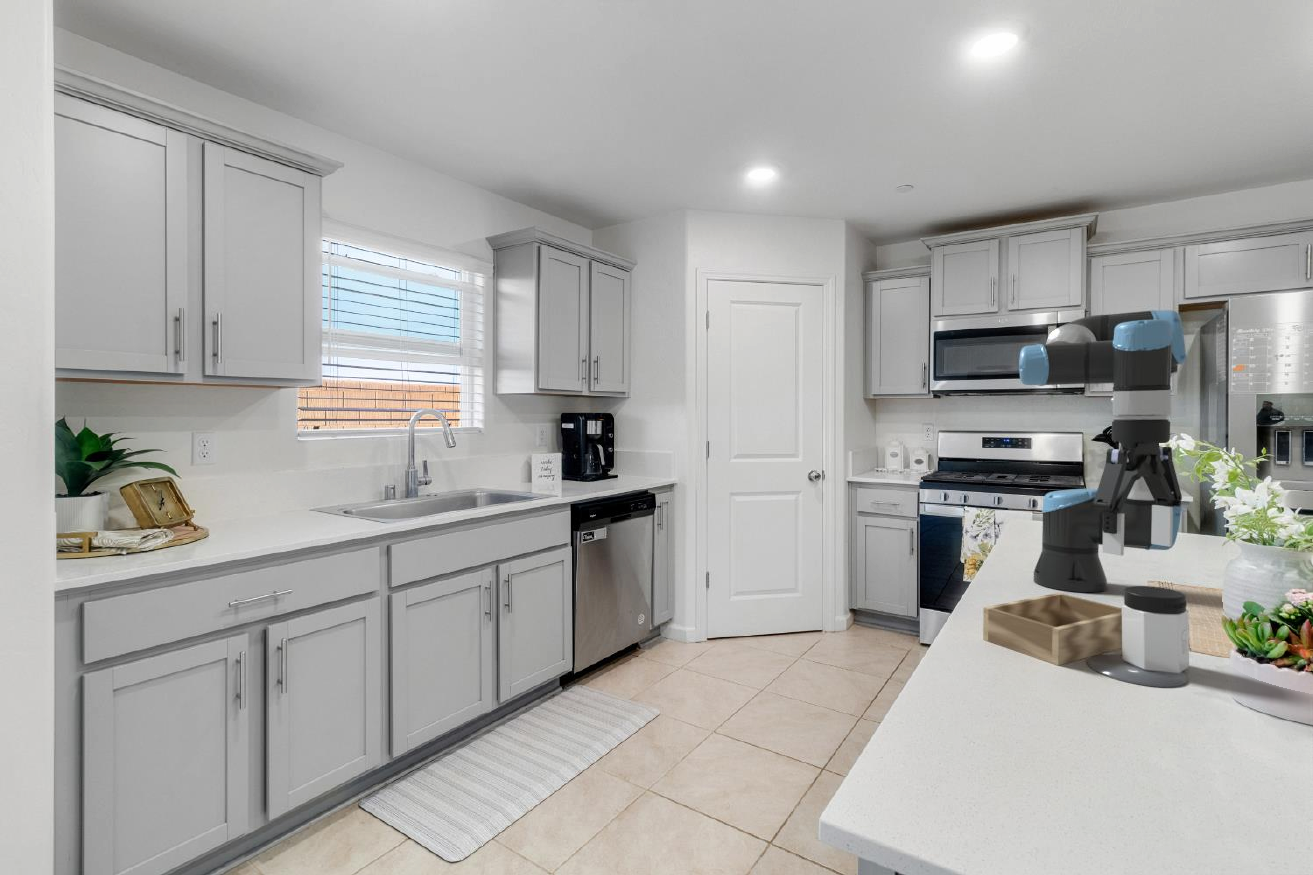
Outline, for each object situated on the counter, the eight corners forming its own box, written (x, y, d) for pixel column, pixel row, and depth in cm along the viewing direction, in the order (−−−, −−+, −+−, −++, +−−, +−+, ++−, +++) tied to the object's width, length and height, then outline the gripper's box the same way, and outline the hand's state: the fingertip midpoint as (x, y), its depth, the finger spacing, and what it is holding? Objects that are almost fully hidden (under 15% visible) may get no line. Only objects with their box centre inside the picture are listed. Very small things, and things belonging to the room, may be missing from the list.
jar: (1176, 678, 102) (1175, 601, 102) (1115, 663, 108) (1114, 591, 108) (1195, 664, 107) (1194, 591, 107) (1136, 651, 114) (1136, 582, 113)
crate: (1058, 622, 131) (1058, 592, 130) (1134, 644, 118) (1135, 611, 118) (983, 639, 121) (983, 607, 121) (1057, 665, 108) (1058, 629, 108)
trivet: (1116, 651, 115) (1116, 649, 115) (1204, 677, 103) (1204, 675, 103) (1070, 663, 109) (1070, 662, 109) (1158, 693, 97) (1158, 691, 97)
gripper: (1158, 416, 113) (1155, 537, 114) (1068, 419, 103) (1066, 552, 103) (1209, 416, 107) (1206, 545, 108) (1119, 419, 96) (1117, 562, 97)
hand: (1137, 549), depth 106 cm, fingers open, 13 cm apart
